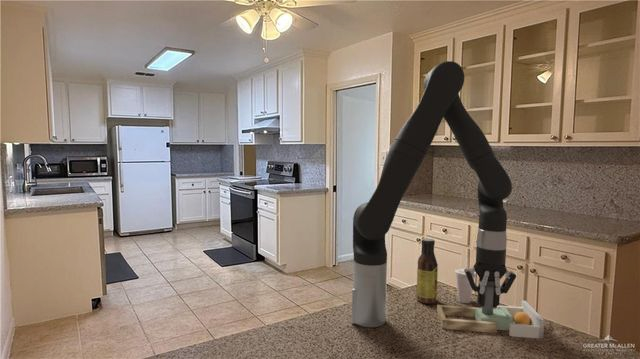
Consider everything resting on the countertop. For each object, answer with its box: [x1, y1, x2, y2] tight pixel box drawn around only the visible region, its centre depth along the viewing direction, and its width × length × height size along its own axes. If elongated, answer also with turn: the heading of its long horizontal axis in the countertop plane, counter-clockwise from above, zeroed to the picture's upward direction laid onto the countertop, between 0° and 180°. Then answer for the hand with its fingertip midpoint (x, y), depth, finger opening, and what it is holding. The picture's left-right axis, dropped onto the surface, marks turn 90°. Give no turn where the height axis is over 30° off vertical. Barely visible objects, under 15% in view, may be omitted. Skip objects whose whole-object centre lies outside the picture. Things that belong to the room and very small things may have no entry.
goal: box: [495, 300, 545, 339], centre depth 108 cm, size 8×13×5 cm, turn 172°
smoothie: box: [454, 257, 477, 304], centre depth 125 cm, size 6×6×14 cm
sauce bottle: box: [416, 238, 439, 305], centre depth 125 cm, size 7×6×20 cm
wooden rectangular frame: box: [436, 304, 498, 334], centre depth 111 cm, size 14×10×2 cm
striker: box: [474, 281, 514, 331], centre depth 109 cm, size 8×7×13 cm
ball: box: [513, 312, 530, 325], centre depth 108 cm, size 4×4×4 cm
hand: (487, 305), depth 109 cm, fingers closed on striker, 3 cm apart
